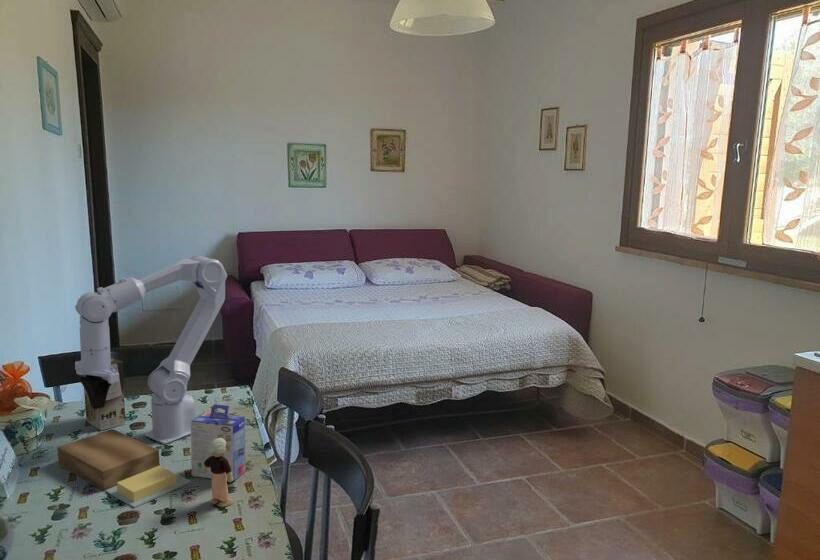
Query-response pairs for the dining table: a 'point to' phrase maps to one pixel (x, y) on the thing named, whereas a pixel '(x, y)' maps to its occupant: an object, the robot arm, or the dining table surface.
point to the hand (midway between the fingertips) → (98, 407)
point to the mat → (113, 492)
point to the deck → (107, 458)
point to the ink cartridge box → (209, 430)
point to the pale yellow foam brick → (146, 483)
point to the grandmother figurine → (219, 472)
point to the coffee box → (109, 403)
